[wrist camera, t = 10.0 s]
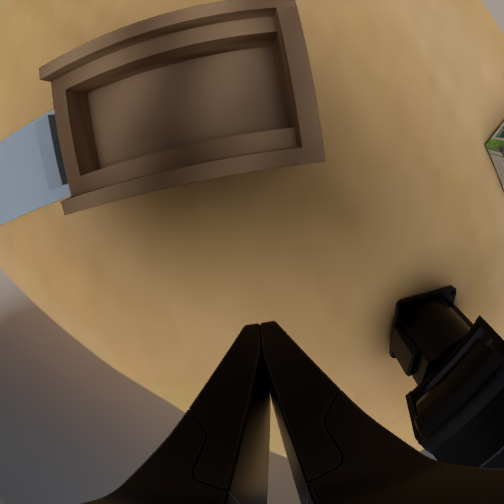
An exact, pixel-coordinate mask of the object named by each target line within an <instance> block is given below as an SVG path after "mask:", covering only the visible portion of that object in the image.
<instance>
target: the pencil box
mask: <svg viewBox="0 0 504 504" xmlns="http://www.w3.org/2000/svg"><path fill="white" fill-rule="evenodd" d="M39 74H40V80H44V81H51V85H52V95H53V104H54V112H55V119H56V126H57V132H58V138H59V143H60V149H61V154H62V159H63V163H64V168H65V172H66V177H67V181H68V185H69V189H70V193H71V197H70V198H68V199H66V200H64V201H61V204H62V207H63V211H64V214H65V215H67V214H71V213H74V212H77V211H80V210H84V209H87V208H91V207H94V206H98V205H101V204H105V203H109V202H112V201H116V200H120V199H124V198H128V197H132V196H136V195H140V194H144V193H148V192H152V191H156V190H161V189H165V188H170V187H174V186H179V185H183V184H188V183H193V182H198V181H203V180H208V179H213V178H218V177H224V176H229V175H235V174H241V173H247V172H253V171H259V170H265V169H272V168H279V167H286V166H293V165H300V164H308V163H317V162H325V158H324V150H323V142H322V135H321V128H320V121H319V114H318V108H317V102H316V96H315V90H314V84H313V79H312V73H311V68H310V63H309V58H308V53H307V48H306V44H305V39H304V35H303V30H302V26H301V22H300V18H299V14H298V10H297V6H296V2H295V0H225V1H219V2H213V3H208V4H203V5H198V6H194V7H189V8H185V9H181V10H177V11H173V12H169V13H166V14H162V15H159V16H155V17H152V18H149V19H146V20H143V21H140V22H137V23H134V24H131V25H128V26H125V27H123V28H120V29H118V30H115V31H113V32H110V33H108V34H105V35H103V36H100V37H98V38H96V39H94V40H91V41H89V42H87V43H85V44H83V45H81V46H79V47H77V48H75V49H73V50H71V51H69V52H67V53H65V54H63V55H61V56H59V57H57V58H56V59H54V60H52V61H50V62H49V63H47V64H45V65H43V66H42V67H40V68H39Z"/></svg>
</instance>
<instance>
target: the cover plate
mask: <svg viewBox="0 0 504 504" xmlns="http://www.w3.org/2000/svg"><path fill="white" fill-rule="evenodd" d="M68 196H71V193H70V189H69V185H68V181H67V177H66V172H65V168H64V163H63V159H62V154H61V149H60V143H59V138H58V132H57V126H56V119H55V112H54V109H53V110H52V111H50V112H48V113H46V114H44V115H43V116H41V117H39V118H37V119H36V120H34V121H32V122H31V123H29V124H28V125H26V126H24V127H23V128H21V129H20V130H18V131H16V132H15V133H13V134H12V135H10V136H9V137H7V138H6V139H4V140H3V141H2V142H0V225H2V224H4V223H6V222H8V221H10V220H12V219H15V218H17V217H19V216H21V215H24V214H26V213H28V212H31V211H33V210H35V209H38V208H40V207H42V206H45V205H47V204H50V203H52V202H55V201H58V200H60V199H63V198H65V197H68Z"/></svg>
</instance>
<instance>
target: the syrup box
mask: <svg viewBox="0 0 504 504" xmlns="http://www.w3.org/2000/svg"><path fill="white" fill-rule="evenodd" d="M486 148H487V150H488V152H489V154H490V157H491V159H492V161H493V164H494V166H495V169H496V171H497V174H498V176H499V179H500V181H501V184H502V186H503V189H504V122H503V123H502V125H501V126H500V127H499V128H498V130H497V131H496V132H495V133H494V135H493V136H492V137H491V139H490V140H489V141H488V142H487V144H486Z"/></svg>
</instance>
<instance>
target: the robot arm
mask: <svg viewBox="0 0 504 504" xmlns="http://www.w3.org/2000/svg"><path fill="white" fill-rule="evenodd" d="M455 296H456V288H454V287H453V286H450V287H446V288H443V289H439V290H436V291H432V292H429V293H425V294H422V295H418V296H414V297H410V298H407V299H403V300H400V301H399V302H398V303H397V306H396V314H395V322H394V325H393V327H392V334H391V340H390V356H391V357H392V358H397V360H398V362H399V363H400V365H401V367H402V368H403V370H404V372H405V374H406V375H407V376H411V375H412V376H413V378H414V380H415V382H416V383H417V385H418V386H417V387H416V388H415V389H414V390H413V391H410V392H409V393H408V394H407V395H406V400H407V405H408V409H409V414H410V418H411V422H412V427H413V431H414V436H415V438H416V440H417V441H418V443H419V444H420V445H422V447H423V448H424V449H425V450H426V451H428V452H429V453H431V454H433V455H434V457H435V458H436V459H437V461H436V460H434V459H431V458H429V457H427V456H425V455H423V454H422V453H420V452H419V451H417V450H416V449H414V448H413V447H411V446H410V445H408V444H407V443H406V442H404V441H403V440H401V439H400V438H398V437H397V436H396V435H394V434H393V433H391V432H390V431H389V430H387V429H386V428H384V427H383V426H382V425H380V424H379V423H378V422H376V421H375V420H374V419H373V418H371V417H370V416H369V415H367V414H366V413H365V412H364V411H363V410H362V409H360V408H359V407H358V406H357V405H356V404H355V403H354V402H353V401H352V400H351V399H350V398H349V397H348V396H347V395H346V394H345V393H344V392H343V391H342V390H340V388H339V387H338V386H337V385H336V384H335V383H334V382H333V381H332V380H331V379H330V378H329V377H328V376H327V375H326V374H325V373H324V372H323V371H322V370H321V369H320V368H319V367H318V366H317V365H316V364H315V363H314V362H313V361H312V359H311V358H310V357H309V356H308V355H307V354H306V353H305V352H304V351H303V350H302V349H301V348H300V347H299V346H298V345H297V344H296V343H295V342H294V341H293V340H292V338H291V337H290V336H289V335H288V334H287V333H286V332H285V331H284V330H283V329H282V328H281V327H280V326H279V325H278V324H277V323H276V322H275V321H270V322H264V323H261V325H260V324H250V325H245V326H244V327H243V329H242V330H241V332H240V334H239V335H238V337H237V338H236V340H235V341H234V343H233V344H232V346H231V347H230V349H229V350H228V352H227V353H226V355H225V356H224V358H223V359H222V361H221V362H220V364H219V365H218V367H217V368H216V370H215V371H214V373H213V374H212V376H211V377H210V379H209V380H208V382H207V383H206V384H205V386H204V387H203V389H202V390H201V392H200V393H199V395H198V396H197V398H196V399H195V401H194V402H193V403H192V405H191V406H190V408H189V409H190V410H187V412H186V413H185V415H184V416H183V418H182V419H181V420H180V422H179V423H178V425H177V426H176V427H175V428H174V430H173V431H172V432H171V433H170V435H169V436H168V437H167V438H166V439H165V441H164V442H163V443H162V444H161V445H160V446H159V447H158V449H157V450H156V451H155V452H154V453H153V454H152V455H151V456H150V457H149V458H148V459H147V460H146V461H145V462H144V463H143V464H142V465H141V466H140V467H139V468H138V469H137V470H136V471H135V473H133V474H132V475H131V476H130V477H129V478H128V480H127V481H126V482H125V483H123V484H122V485H121V486H120V487H119V488H117V489H116V490H115V491H113V492H112V493H110V494H108V495H107V496H104V497H102V498H100V499H97V500H93V501H89V502H86V503H82V504H267V492H268V467H269V439H270V395H271V399H272V404H273V407H274V411H275V415H276V418H277V422H278V426H279V429H280V433H281V436H282V440H283V444H284V447H285V451H286V454H287V458H288V461H289V465H290V468H291V471H292V475H293V479H294V482H295V485H296V489H297V492H298V495H299V499H300V502H301V504H504V340H503V339H502V338H501V337H500V336H499V335H498V334H497V333H496V332H495V331H494V330H493V328H492V327H491V326H490V325H489V324H488V323H487V322H486V321H485V320H484V319H483V318H482V317H481V316H480V315H479V317H478V318H477V319H476V320H475V321H476V322H475V323H474V325H473V323H472V322H471V321H470V320H469V319H468V318H467V317H466V316H465V315H464V314H463V313H462V312H461V311H460V310H459V309H458V308H457V307H456V306H455V305H454V300H455ZM402 305H403V306H402ZM401 306H402V307H401Z"/></svg>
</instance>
